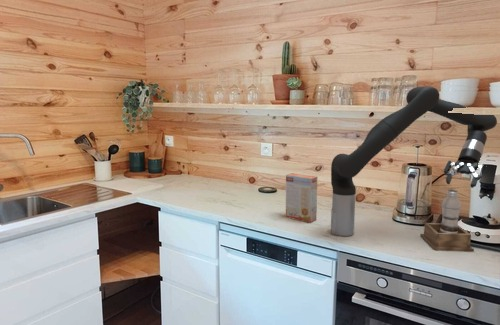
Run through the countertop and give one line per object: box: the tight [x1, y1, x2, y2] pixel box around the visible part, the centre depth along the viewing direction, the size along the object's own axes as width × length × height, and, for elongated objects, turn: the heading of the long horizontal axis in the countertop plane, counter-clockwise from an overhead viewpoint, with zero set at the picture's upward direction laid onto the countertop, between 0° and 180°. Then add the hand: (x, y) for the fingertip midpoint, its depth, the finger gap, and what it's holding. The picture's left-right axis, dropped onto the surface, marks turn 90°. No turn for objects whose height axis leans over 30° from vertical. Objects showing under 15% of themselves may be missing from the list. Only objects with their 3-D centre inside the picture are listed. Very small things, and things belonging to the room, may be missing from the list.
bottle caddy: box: [419, 222, 475, 253], centre depth 138 cm, size 14×14×6 cm
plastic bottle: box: [439, 189, 462, 234], centre depth 136 cm, size 6×7×20 cm
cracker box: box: [285, 173, 318, 223], centre depth 167 cm, size 14×6×21 cm, turn 48°
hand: (459, 184), depth 141 cm, fingers open, 8 cm apart
